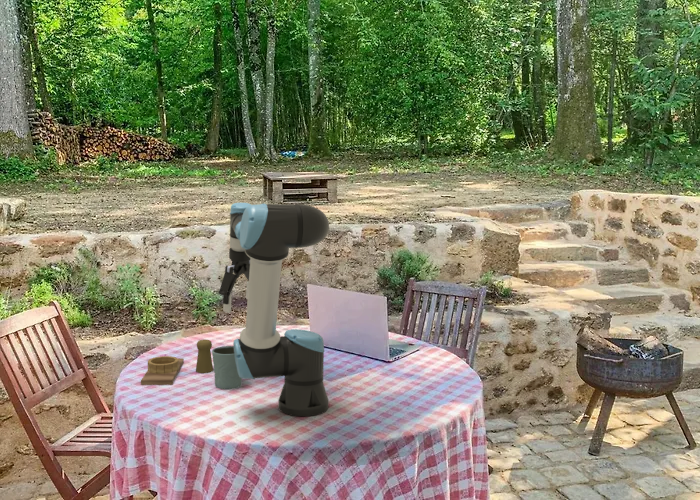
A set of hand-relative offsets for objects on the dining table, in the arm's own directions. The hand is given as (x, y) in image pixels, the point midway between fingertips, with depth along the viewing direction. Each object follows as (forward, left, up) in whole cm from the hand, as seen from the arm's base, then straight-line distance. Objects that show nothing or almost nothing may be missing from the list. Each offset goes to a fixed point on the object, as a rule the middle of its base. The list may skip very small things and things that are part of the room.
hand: (238, 305), depth 227 cm
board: (-12, +23, -23) cm, 35 cm away
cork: (-5, +11, -23) cm, 26 cm away
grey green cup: (-16, -3, -23) cm, 28 cm away
